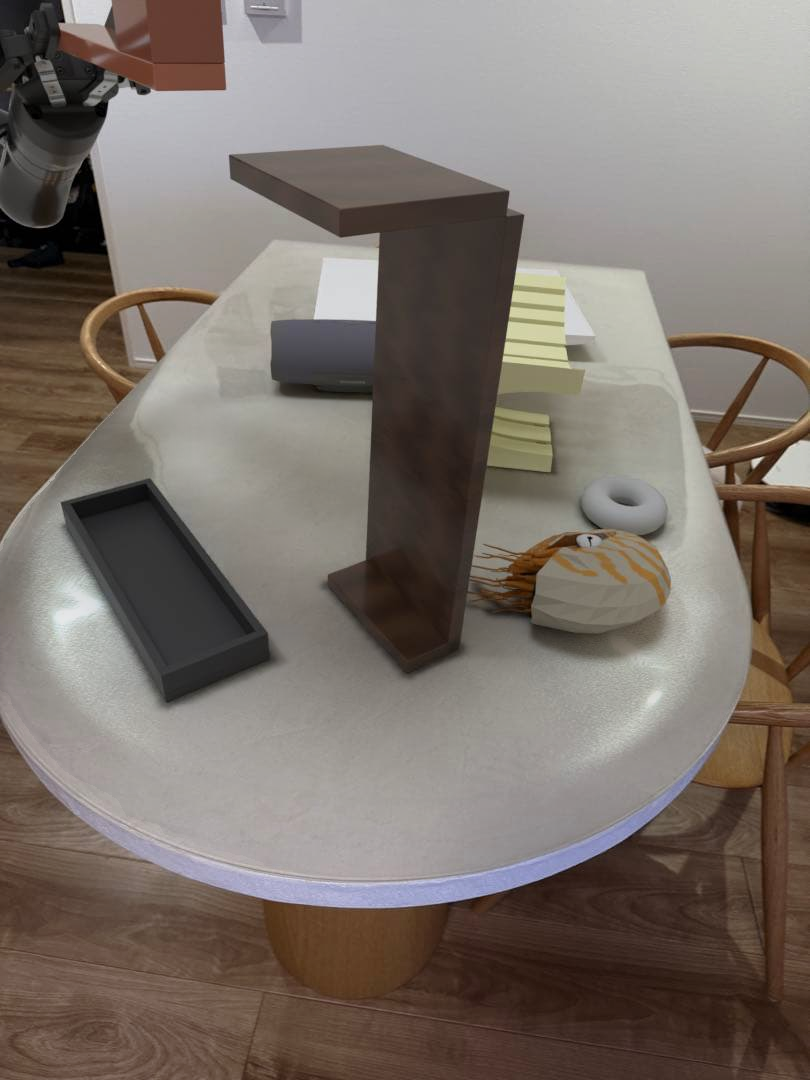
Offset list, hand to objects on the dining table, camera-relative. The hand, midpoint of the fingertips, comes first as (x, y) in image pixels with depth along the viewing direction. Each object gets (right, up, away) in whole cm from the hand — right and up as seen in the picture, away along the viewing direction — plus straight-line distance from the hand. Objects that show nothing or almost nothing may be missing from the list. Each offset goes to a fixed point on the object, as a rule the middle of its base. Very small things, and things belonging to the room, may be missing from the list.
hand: (87, 18), depth 56 cm
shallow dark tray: (-1, -43, +19) cm, 47 cm away
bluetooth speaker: (+15, -16, +57) cm, 61 cm away
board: (+31, +1, +80) cm, 86 cm away
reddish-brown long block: (+4, -5, -3) cm, 7 cm away
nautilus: (+38, -45, +21) cm, 63 cm away
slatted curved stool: (+35, -25, +47) cm, 63 cm away
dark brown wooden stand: (+18, -47, +16) cm, 53 cm away
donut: (+49, -36, +34) cm, 70 cm away
